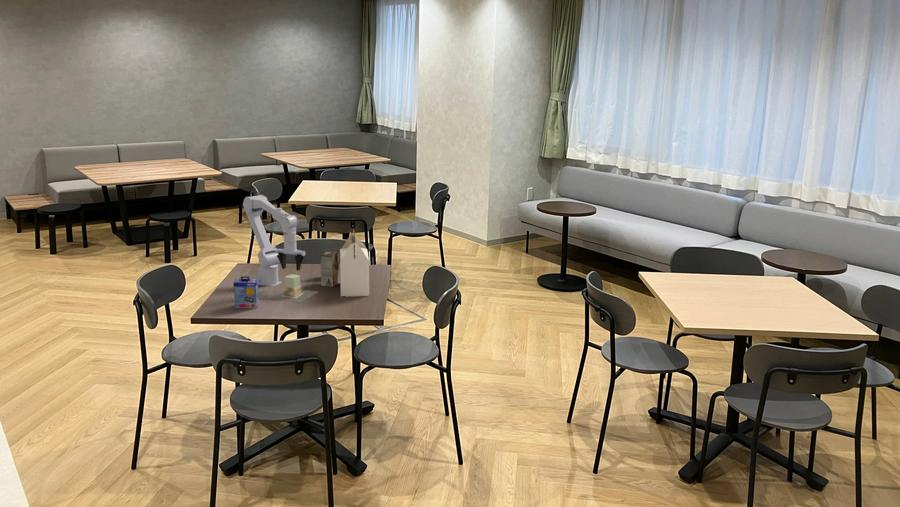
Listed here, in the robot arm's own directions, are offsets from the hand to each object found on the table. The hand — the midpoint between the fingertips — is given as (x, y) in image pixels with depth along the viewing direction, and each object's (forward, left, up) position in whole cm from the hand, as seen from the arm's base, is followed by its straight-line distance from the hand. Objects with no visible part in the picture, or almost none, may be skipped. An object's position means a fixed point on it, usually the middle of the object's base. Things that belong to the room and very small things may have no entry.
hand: (291, 269), depth 352 cm
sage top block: (+5, -8, -6) cm, 11 cm away
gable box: (+27, +12, -11) cm, 32 cm away
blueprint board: (+5, -8, -10) cm, 14 cm away
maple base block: (+5, -8, -10) cm, 13 cm away
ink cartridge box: (-6, -29, -11) cm, 31 cm away
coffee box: (+13, +15, -11) cm, 22 cm away
